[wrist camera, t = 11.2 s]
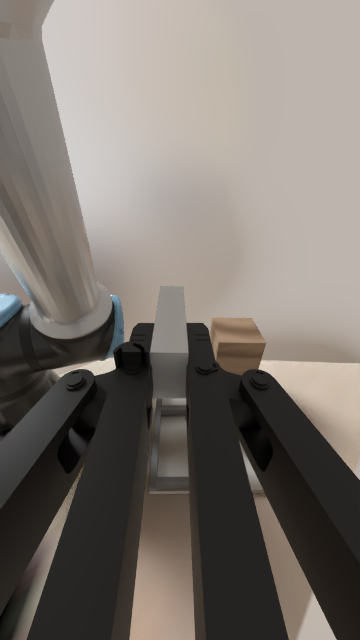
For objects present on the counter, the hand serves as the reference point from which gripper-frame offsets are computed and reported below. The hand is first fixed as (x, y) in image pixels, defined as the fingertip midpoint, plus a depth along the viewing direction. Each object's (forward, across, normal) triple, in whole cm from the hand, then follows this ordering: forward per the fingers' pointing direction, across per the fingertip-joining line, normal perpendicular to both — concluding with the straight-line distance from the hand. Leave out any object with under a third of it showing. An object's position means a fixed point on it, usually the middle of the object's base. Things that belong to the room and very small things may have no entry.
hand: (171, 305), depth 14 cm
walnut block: (+19, +12, -31) cm, 38 cm away
